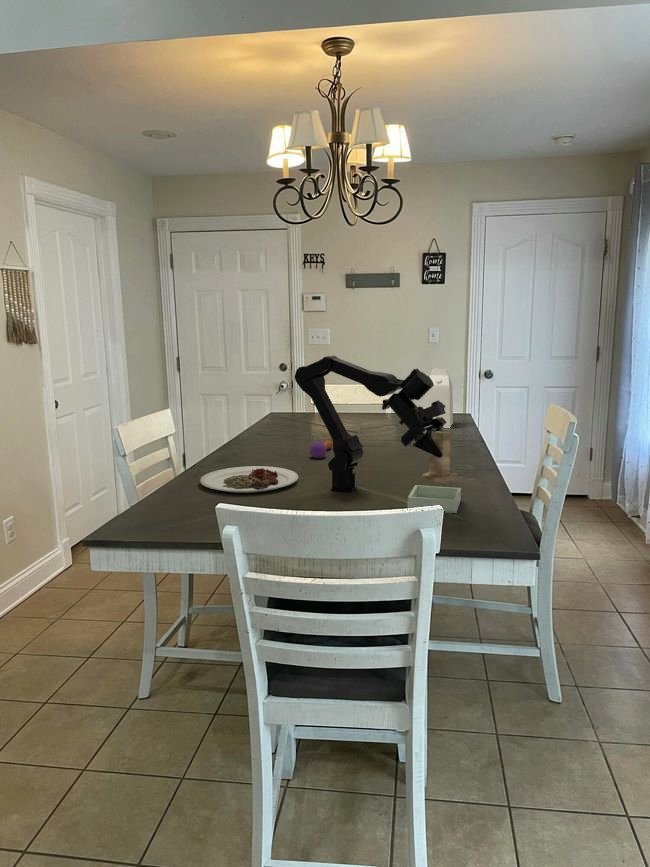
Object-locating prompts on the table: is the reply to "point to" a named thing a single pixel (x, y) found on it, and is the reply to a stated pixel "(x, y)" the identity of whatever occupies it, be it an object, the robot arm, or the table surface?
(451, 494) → the box
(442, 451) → the wooden block tower
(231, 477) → the plated food
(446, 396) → the milk
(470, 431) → the table surface
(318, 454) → the purple and orange maraca
